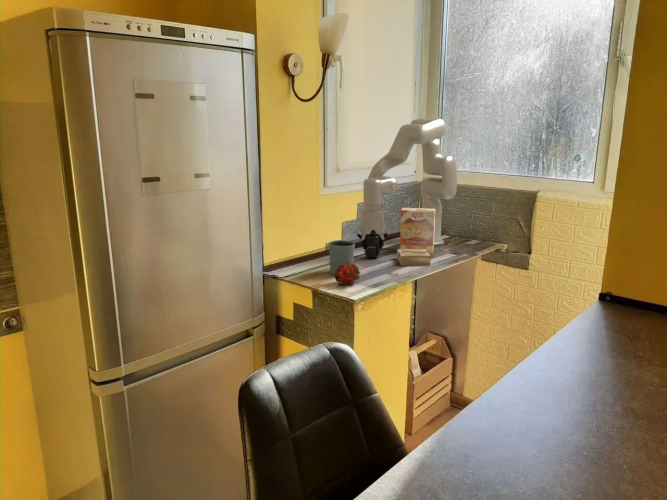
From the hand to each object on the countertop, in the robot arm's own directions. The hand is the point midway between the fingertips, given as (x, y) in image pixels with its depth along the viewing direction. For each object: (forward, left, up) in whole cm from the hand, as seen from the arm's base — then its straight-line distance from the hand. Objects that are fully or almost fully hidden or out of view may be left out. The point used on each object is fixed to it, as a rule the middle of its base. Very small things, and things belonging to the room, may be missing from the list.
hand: (372, 248), depth 226 cm
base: (+7, +16, -4) cm, 19 cm away
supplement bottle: (0, 0, -4) cm, 4 cm away
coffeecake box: (-11, +21, -5) cm, 24 cm away
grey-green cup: (+22, -15, -5) cm, 27 cm away
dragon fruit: (+37, -14, -5) cm, 40 cm away
